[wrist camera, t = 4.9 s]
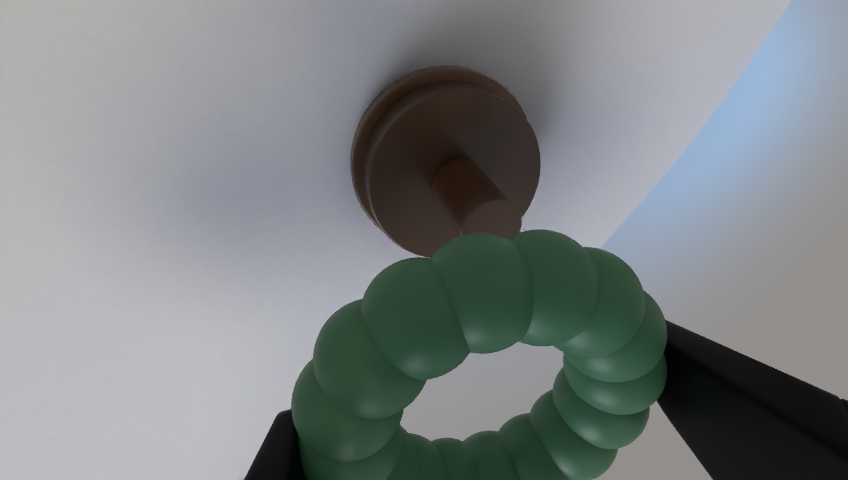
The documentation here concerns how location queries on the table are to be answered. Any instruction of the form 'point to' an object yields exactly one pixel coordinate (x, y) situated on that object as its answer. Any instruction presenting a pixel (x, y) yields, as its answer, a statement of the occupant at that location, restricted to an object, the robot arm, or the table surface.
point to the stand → (444, 159)
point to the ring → (483, 333)
